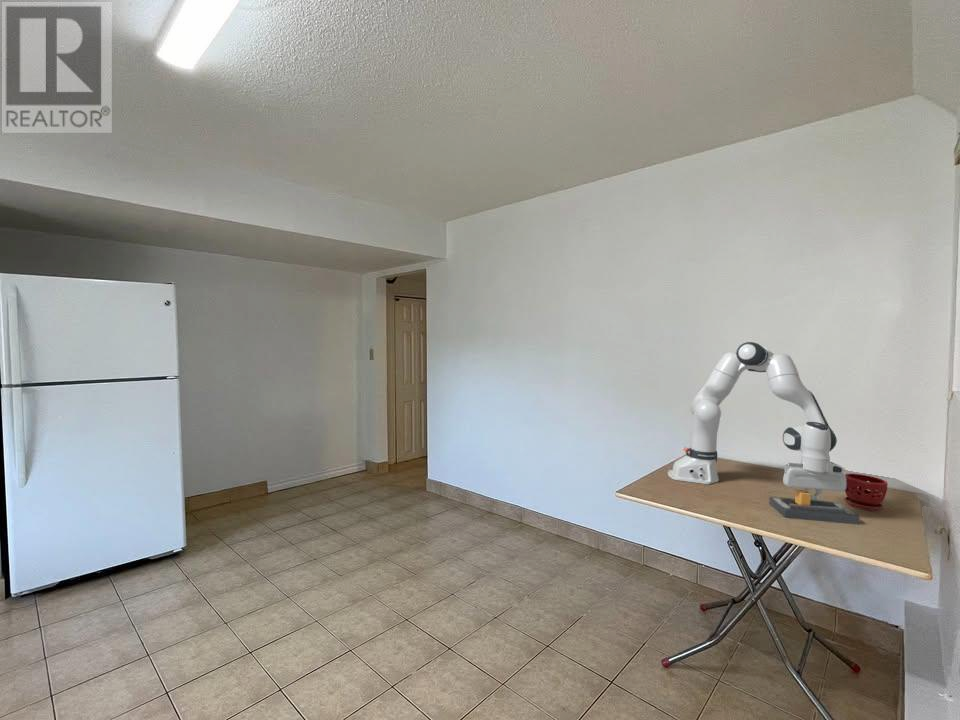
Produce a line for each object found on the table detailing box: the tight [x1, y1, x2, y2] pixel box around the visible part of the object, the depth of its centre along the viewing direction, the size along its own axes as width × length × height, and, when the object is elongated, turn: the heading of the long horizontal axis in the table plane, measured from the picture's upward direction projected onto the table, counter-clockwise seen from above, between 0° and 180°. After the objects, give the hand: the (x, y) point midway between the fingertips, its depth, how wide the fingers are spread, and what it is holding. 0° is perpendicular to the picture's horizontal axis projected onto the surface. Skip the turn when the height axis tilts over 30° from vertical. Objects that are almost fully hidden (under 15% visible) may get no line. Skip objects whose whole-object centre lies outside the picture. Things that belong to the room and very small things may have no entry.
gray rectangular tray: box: [768, 496, 860, 525], centre depth 168 cm, size 24×14×4 cm, turn 77°
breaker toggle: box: [794, 488, 812, 505], centre depth 169 cm, size 3×5×5 cm, turn 167°
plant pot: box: [844, 473, 889, 511], centre depth 176 cm, size 13×13×12 cm
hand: (812, 499), depth 168 cm, fingers closed
